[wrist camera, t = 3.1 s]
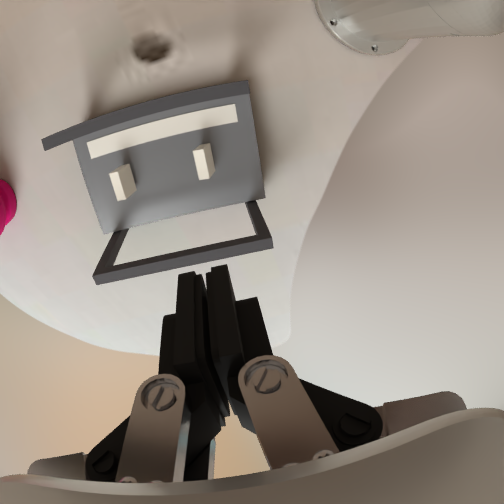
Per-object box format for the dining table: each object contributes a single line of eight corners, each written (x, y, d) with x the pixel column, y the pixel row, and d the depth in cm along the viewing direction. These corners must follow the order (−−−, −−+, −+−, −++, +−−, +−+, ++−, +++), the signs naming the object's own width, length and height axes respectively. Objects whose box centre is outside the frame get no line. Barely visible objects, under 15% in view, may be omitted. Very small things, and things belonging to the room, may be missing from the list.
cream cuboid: (209, 143, 28) (203, 149, 26) (215, 170, 30) (209, 178, 28) (199, 144, 28) (192, 150, 26) (205, 171, 30) (199, 180, 28)
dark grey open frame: (233, 82, 29) (247, 80, 19) (253, 201, 36) (273, 248, 26) (87, 120, 28) (41, 139, 19) (121, 230, 35) (96, 285, 26)
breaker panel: (245, 92, 29) (249, 93, 27) (260, 188, 35) (265, 198, 32) (82, 134, 29) (72, 139, 26) (110, 223, 34) (103, 234, 32)
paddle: (129, 163, 28) (117, 171, 26) (136, 189, 29) (126, 199, 27) (121, 165, 28) (109, 173, 26) (128, 191, 29) (117, 200, 27)
